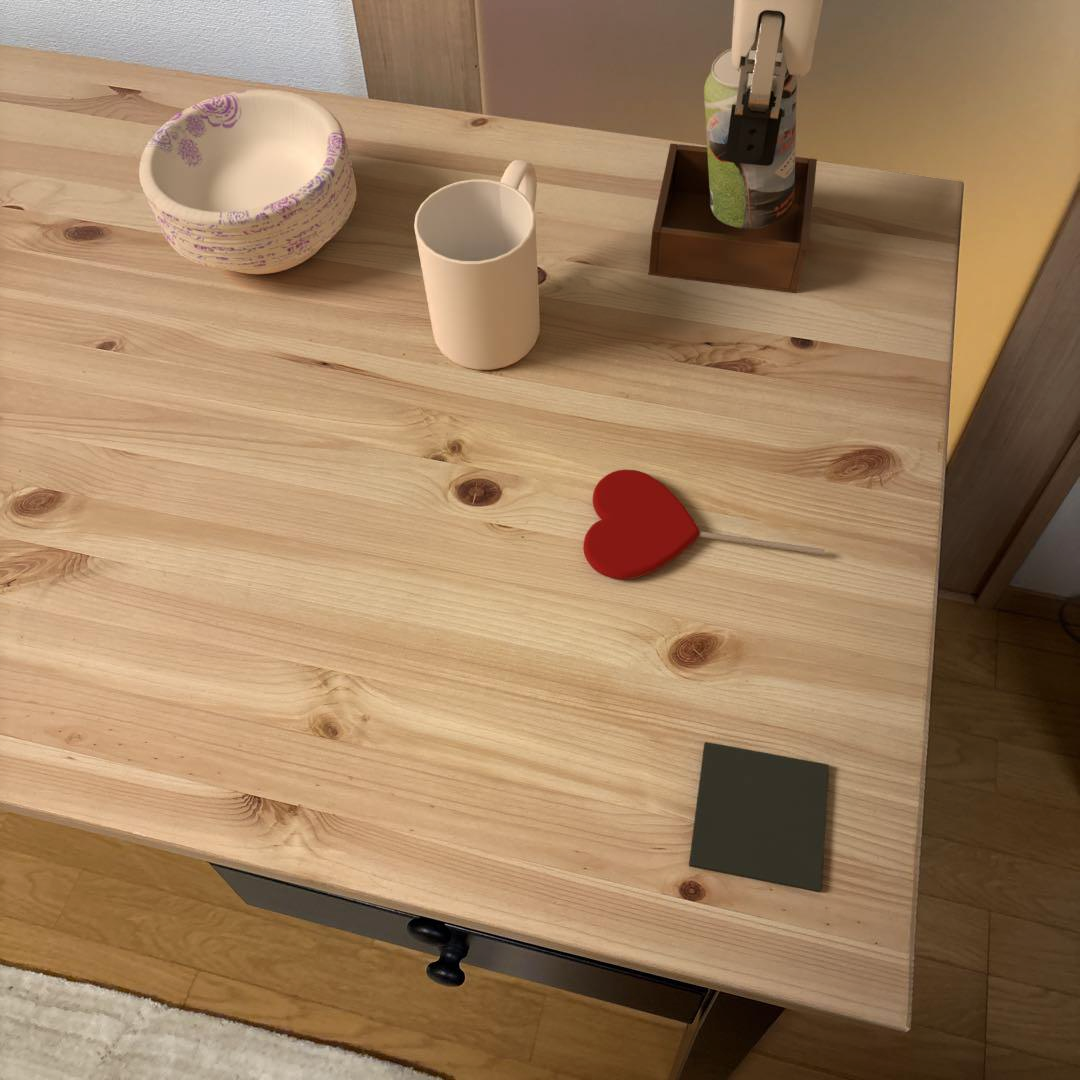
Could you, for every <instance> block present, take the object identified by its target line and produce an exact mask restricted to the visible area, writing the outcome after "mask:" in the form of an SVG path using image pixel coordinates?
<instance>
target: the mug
mask: <svg viewBox="0 0 1080 1080" xmlns="http://www.w3.org/2000/svg"><path fill="white" fill-rule="evenodd" d="M537 185H538V184H537V172H536V168H535V166H534V165H533V164H532V163H531V162H529V161H526V160H522V159H514V160H513V161H511V162H510V163H509V165H508V166H507V168H506V169H505V170H504V173H503V174H502V177H501V180H500V181H497V180H492V179H466V180H461V181H456V182H453V183H450V184H448V185H445V186H442V187H440V188H439V189H438V190H436V191H434V192H432V193H431V194H429V196H428V197H427V198H426V199H425V200H424V201H423V202H422V203H421V204H420V206H419V208H418V209H417V211H416V213H415V216H414V225H413V227H414V233H415V239H416V244H417V250H418V256H419V261H420V267H421V272H422V278H423V279H422V280H423V284H424V290H425V295H426V296H425V297H426V301H427V306H428V312H429V313H428V314H429V318H430V323H431V324H430V325H431V330H432V334H433V338H434V342H435V344H436V346H437V348H438V349H439V351H440V352H441V353H442V354H443V356H445V357H446V358H447V359H448V360H450V361H451V362H452V363H454V364H456V365H459V366H461V367H463V368H467V369H470V370H471V369H472V370H476V371H493V370H497V369H502V368H506V367H508V366H511V365H513V364H515V363H517V362H519V361H520V360H521V359H523V358H524V357H525V356H527V355H528V354H529V352H530V351H531V350H532V349H533V348H534V346H535V345H536V343H537V340H538V338H539V335H540V330H541V328H540V327H541V319H540V318H541V317H540V314H541V313H540V293H539V291H540V290H539V274H538V273H539V271H538V269H539V268H538V249H537V248H538V247H537V245H538V244H537V225H536V212H535V208H536V207H535V206H536V201H537V200H536V199H537V187H538V186H537Z"/></svg>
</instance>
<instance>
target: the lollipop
mask: <svg viewBox="0 0 1080 1080" xmlns="http://www.w3.org/2000/svg"><path fill="white" fill-rule="evenodd" d="M592 505H593V506H592V507H593V510H594V512H595V513H596V515H597V517H599V520H598V521H595V522H594V523H593V524H592V525H591V526H590V527H589V529H588V530H587V532H586V533H585V536H584V538H583V539H584V540H583V545H582V546H583V554H584V558H585V559H586V562H587V563H588V564H589V566H590V567H591V568H592V569H593V570H594V571H595V572H596V573H598V574H600V575H602V576H604V577H606V578H610V579H615V580H629V579H630V580H631V579H634V578H639V577H643V576H645V575H648V574H651V573H653V572H655V571H656V570H659V569H660V568H662V567H664V566H665V565H667V564H669V563H670V562H672V561H673V560H675V559H676V558H677V557H679V556H680V555H681V554H682V553H684V552H685V551H686V550H687V549H688V548H689V547H690V546H692V544H694V542H695V541H697V539H698V538H704V539H705V538H706V539H712V540H719V541H726V542H733V543H738V544H739V543H740V544H747V545H754V546H760V547H768V548H773V549H774V548H775V549H781V550H787V551H795V552H801V553H808V554H814V555H815V554H816V555H820V556H821V555H822V556H825V549H824V548H819V547H811V546H804V545H798V544H790V543H784V542H778V541H771V540H763V539H756V538H750V537H742V536H737V535H730V534H729V535H728V534H723V533H717V532H716V533H715V532H708V531H703V530H700V528H699V527H698V525H697V522H695V520H694V518H693V517H692V516H691V514H690V512H689V511H688V509H687V508H686V506H685V505H684V503H682V501H681V500H680V499H679V498H678V497H677V496H676V495H675V494H674V492H673V491H671V489H670V488H668V486H666V484H664V483H662V482H661V481H660V480H658V479H657V478H655V477H653V476H652V475H650V474H648V473H645V472H644V471H641V470H635V469H618V470H615V471H612V472H610V473H607V474H606V475H605V476H603V477H602V478H601V479H600V480H599V481H598V482H597V484H596V485H595V487H594V490H593V493H592Z"/></svg>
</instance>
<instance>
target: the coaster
mask: <svg viewBox="0 0 1080 1080" xmlns="http://www.w3.org/2000/svg"><path fill="white" fill-rule="evenodd" d="M702 750H703V751H702V757H701V758H702V759H701V767H700V773H699V782H698V789H697V798H696V806H695V814H694V822H693V830H692V838H691V846H690V851H689V852H690V853H689V859H688V860H689V861H688V867H689V868H691V867H692V868H696V869H700V870H706V871H711V872H715V873H721V874H725V875H731V876H735V877H736V876H737V877H740V878H746V879H751V880H755V881H760V882H766V883H771V884H775V885H781V886H785V887H791V888H794V889H795V888H796V889H801V890H805V891H809V892H816V893H821V892H822V885H823V869H824V853H825V837H826V836H825V835H826V822H827V821H826V820H827V806H828V805H827V803H828V788H829V787H828V786H829V771H830V765H829V764H828V763H823V762H817V761H812V760H806V759H800V758H795V757H789V756H784V755H778V754H773V753H768V752H762V751H756V750H752V749H745V748H740V747H735V746H730V745H724V744H718V743H715V742H714V743H713V742H708V741H705V742H704V744H703V749H702Z"/></svg>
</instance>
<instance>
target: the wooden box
mask: <svg viewBox="0 0 1080 1080" xmlns="http://www.w3.org/2000/svg"><path fill="white" fill-rule="evenodd" d="M817 164H818V159H817V158H808V157H803V156H802V157H800V156H795V187H794V203H793V205H792V207H791V209H790V211H789V212H788V213H787V214H786V215H785V216H784V217H783V218H781V219H780V220H778V221H776V222H774V223H772V224H770V225H768V226H765V227H762V228H758V229H739V228H736V227H733V226H729V225H727V224H724V223H723V222H721V221H720V220H718V219H717V218H716V217H715V216H714V214H713V212H712V210H711V204H710V187H709V170H708V152H707V146H699V145H691V144H680V143H673V142H671V143H670V144H669V148H668V153H667V158H666V162H665V168H664V171H663V172H664V173H663V176H662V182H661V187H660V192H659V196H658V200H657V205H656V210H655V215H654V219H653V225H652V229H651V230H652V231H651V239H650V249H649V250H650V251H649V262H648V275H650V276H658V277H666V278H674V279H681V280H689V281H690V280H691V281H698V282H707V283H714V284H722V285H730V286H738V287H744V288H745V287H746V288H753V289H760V290H761V289H762V290H769V291H776V292H777V291H779V292H784V293H785V292H786V293H793V294H797V293H798V291H799V286H800V282H801V278H802V274H803V271H804V268H805V263H806V259H807V256H808V253H809V245H810V234H811V227H812V226H811V225H812V224H811V223H812V216H813V215H812V214H813V206H814V205H813V204H814V195H815V184H816V175H817Z"/></svg>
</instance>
